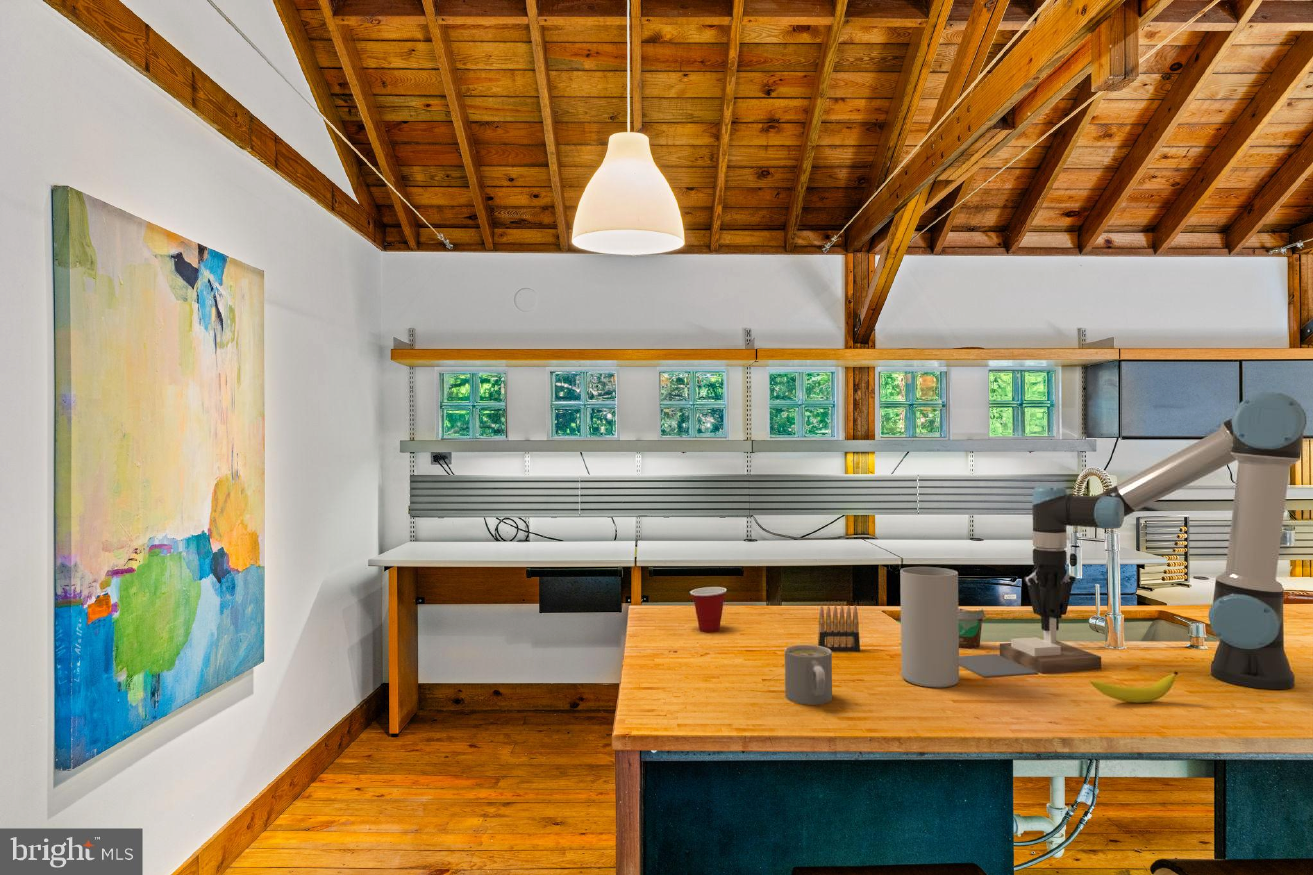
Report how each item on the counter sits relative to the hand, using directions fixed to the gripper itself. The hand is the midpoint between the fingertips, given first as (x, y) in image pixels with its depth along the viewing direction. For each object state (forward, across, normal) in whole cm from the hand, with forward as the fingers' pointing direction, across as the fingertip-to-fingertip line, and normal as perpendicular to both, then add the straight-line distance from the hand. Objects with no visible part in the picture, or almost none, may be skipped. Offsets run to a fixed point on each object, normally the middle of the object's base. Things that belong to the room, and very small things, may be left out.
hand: (1050, 643), depth 191 cm
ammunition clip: (+5, +47, -20) cm, 51 cm away
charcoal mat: (+5, +17, 0) cm, 17 cm away
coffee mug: (+5, +68, +15) cm, 70 cm away
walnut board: (+5, +1, 0) cm, 5 cm away
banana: (+5, +3, +30) cm, 31 cm away
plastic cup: (+5, +75, -49) cm, 90 cm away
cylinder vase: (+5, +36, +8) cm, 38 cm away
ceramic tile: (+2, +4, 0) cm, 4 cm away
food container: (+5, +14, -18) cm, 23 cm away
